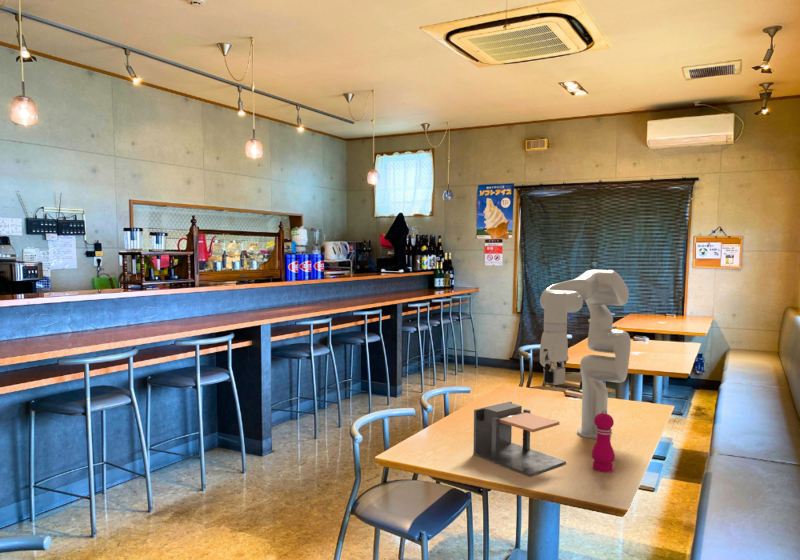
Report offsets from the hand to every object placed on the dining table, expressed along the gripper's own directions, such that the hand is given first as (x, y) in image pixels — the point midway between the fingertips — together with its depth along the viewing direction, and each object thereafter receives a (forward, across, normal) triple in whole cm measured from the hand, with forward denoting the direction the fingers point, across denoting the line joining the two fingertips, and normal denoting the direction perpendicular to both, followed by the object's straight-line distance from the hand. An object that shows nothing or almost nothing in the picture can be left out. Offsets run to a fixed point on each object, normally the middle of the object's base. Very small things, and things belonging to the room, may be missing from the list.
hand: (553, 381), depth 189 cm
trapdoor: (+17, +6, -9) cm, 20 cm away
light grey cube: (+1, 0, 0) cm, 1 cm away
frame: (+28, +6, -9) cm, 30 cm away
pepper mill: (+28, -9, +13) cm, 33 cm away
